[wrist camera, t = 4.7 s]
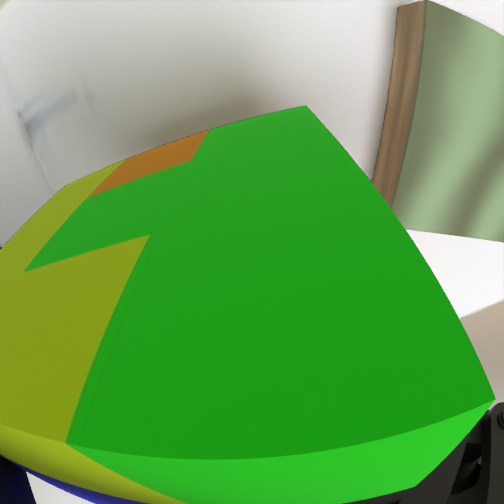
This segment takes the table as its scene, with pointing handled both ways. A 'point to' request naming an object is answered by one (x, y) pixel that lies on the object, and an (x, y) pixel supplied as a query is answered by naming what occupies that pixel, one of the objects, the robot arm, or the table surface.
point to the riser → (444, 125)
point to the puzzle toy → (230, 330)
